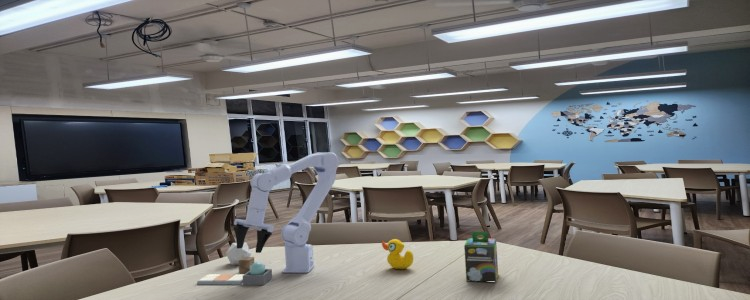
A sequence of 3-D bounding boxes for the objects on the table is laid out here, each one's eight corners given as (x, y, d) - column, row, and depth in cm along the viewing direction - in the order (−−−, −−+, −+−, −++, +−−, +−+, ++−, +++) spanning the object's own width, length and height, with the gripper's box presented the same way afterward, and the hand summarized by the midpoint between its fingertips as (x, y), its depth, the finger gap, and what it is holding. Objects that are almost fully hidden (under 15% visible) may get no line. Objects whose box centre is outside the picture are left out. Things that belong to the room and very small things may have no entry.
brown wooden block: (254, 270, 155) (254, 256, 155) (250, 274, 151) (249, 260, 151) (244, 270, 155) (243, 256, 155) (239, 274, 151) (238, 260, 151)
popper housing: (272, 277, 146) (271, 268, 146) (264, 284, 139) (263, 275, 139) (252, 277, 147) (251, 269, 146) (243, 284, 140) (242, 275, 140)
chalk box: (498, 274, 139) (496, 227, 139) (496, 283, 130) (494, 234, 130) (468, 272, 142) (467, 227, 142) (465, 281, 134) (463, 233, 133)
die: (237, 269, 159) (252, 246, 162) (218, 258, 160) (233, 235, 163) (243, 271, 167) (258, 249, 170) (225, 260, 168) (239, 238, 171)
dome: (267, 272, 145) (266, 260, 144) (261, 277, 140) (261, 264, 140) (253, 273, 145) (253, 260, 145) (247, 277, 140) (246, 264, 140)
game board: (250, 277, 147) (249, 273, 147) (240, 284, 140) (240, 280, 140) (208, 277, 149) (208, 274, 149) (197, 284, 142) (197, 280, 142)
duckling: (379, 269, 150) (378, 240, 150) (386, 264, 155) (385, 236, 155) (410, 272, 145) (408, 242, 145) (416, 267, 150) (415, 238, 149)
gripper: (231, 205, 144) (223, 246, 142) (267, 211, 139) (259, 255, 137) (245, 206, 151) (237, 246, 149) (280, 212, 145) (272, 254, 143)
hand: (248, 250), depth 143 cm, fingers open, 7 cm apart
